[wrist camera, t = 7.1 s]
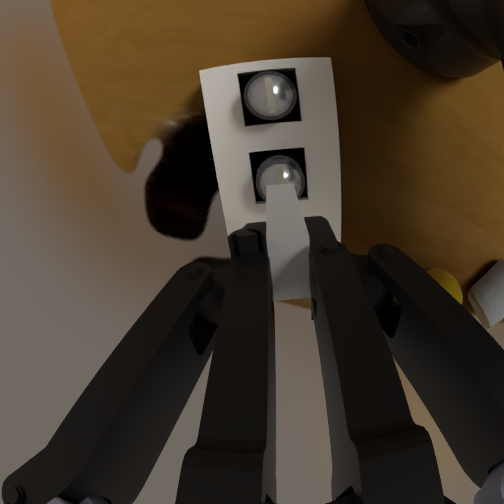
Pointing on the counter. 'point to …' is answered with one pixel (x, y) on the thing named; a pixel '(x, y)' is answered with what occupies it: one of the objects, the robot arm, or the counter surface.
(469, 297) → the ceramic mug
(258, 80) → the knob
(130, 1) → the counter surface
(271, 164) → the knob mid
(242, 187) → the console
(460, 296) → the apple
